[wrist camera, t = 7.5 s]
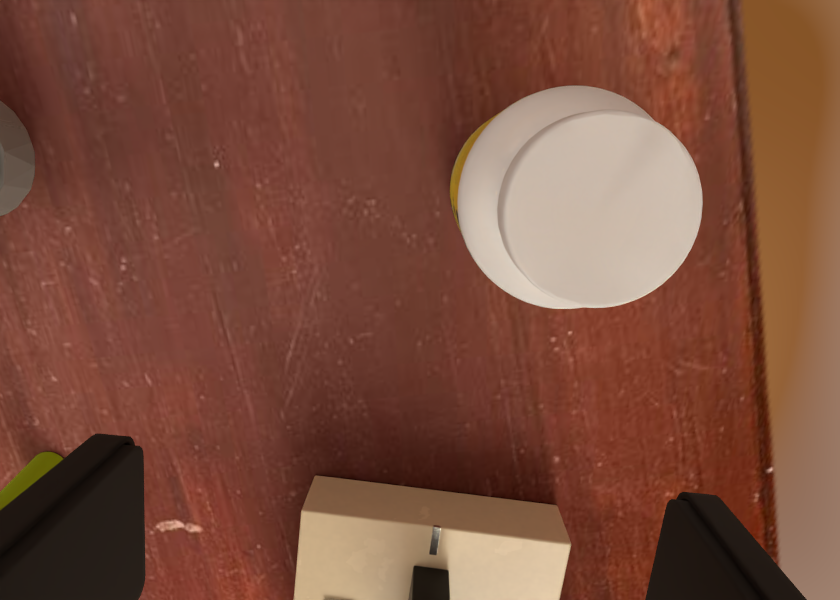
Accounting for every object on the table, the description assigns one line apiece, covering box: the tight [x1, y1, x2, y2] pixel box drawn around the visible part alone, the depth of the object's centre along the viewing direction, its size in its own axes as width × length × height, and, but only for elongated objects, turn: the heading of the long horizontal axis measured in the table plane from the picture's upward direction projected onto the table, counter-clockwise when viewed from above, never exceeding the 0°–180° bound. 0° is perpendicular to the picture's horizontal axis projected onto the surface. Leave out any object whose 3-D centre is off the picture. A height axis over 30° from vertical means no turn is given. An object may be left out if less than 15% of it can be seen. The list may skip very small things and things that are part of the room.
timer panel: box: [294, 475, 571, 600], centre depth 28 cm, size 12×9×3 cm
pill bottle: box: [450, 86, 703, 309], centre depth 19 cm, size 6×6×12 cm
